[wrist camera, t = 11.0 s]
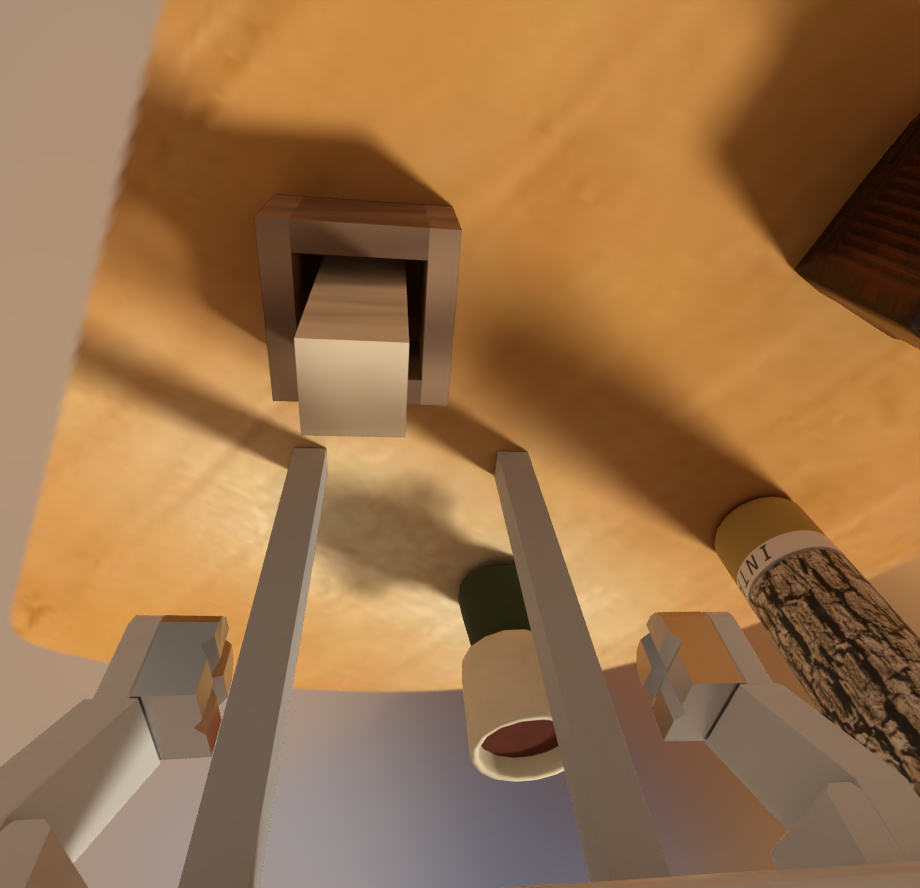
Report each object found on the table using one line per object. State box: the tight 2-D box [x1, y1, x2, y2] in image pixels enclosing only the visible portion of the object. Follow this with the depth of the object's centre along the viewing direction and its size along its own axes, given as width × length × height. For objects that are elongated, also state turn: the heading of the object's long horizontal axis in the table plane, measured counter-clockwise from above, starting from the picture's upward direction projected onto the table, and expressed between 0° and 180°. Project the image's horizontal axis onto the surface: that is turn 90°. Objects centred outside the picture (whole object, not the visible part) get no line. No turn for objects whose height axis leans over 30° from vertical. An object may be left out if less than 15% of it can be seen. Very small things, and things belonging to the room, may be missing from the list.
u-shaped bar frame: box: [178, 448, 671, 888], centre depth 26 cm, size 6×16×27 cm, turn 85°
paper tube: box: [714, 497, 920, 798], centre depth 34 cm, size 7×7×25 cm
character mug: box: [458, 565, 564, 782], centre depth 40 cm, size 11×7×13 cm, turn 147°
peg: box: [294, 255, 409, 438], centre depth 27 cm, size 4×4×12 cm
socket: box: [254, 194, 462, 406], centre depth 30 cm, size 9×9×5 cm
